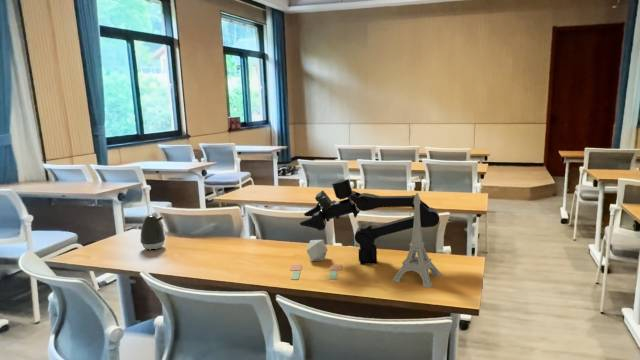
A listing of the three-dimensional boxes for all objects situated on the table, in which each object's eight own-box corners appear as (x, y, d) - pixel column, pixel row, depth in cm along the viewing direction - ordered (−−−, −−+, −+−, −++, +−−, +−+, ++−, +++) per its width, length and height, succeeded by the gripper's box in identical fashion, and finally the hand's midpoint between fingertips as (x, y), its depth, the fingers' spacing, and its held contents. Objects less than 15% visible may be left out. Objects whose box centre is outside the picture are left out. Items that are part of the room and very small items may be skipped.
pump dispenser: (161, 251, 190) (158, 217, 188) (137, 252, 190) (134, 218, 188) (169, 244, 200) (166, 212, 198) (147, 245, 200) (143, 212, 198)
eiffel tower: (405, 268, 162) (404, 188, 157) (441, 274, 155) (442, 190, 150) (391, 281, 151) (391, 195, 146) (430, 288, 144) (430, 198, 139)
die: (320, 266, 168) (332, 244, 170) (301, 255, 169) (313, 233, 170) (320, 266, 176) (332, 245, 178) (301, 256, 177) (313, 235, 178)
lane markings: (341, 264, 167) (341, 264, 167) (340, 279, 154) (340, 278, 154) (291, 265, 169) (291, 264, 168) (286, 279, 155) (286, 279, 155)
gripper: (335, 182, 175) (299, 192, 179) (330, 198, 157) (290, 209, 161) (344, 206, 178) (309, 217, 181) (340, 225, 160) (300, 236, 164)
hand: (302, 219), depth 172 cm, fingers open, 9 cm apart
